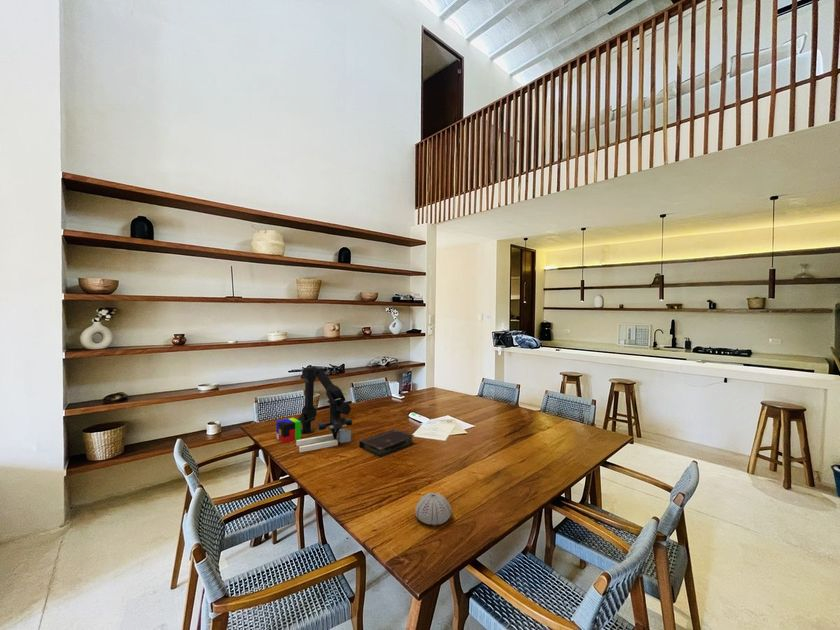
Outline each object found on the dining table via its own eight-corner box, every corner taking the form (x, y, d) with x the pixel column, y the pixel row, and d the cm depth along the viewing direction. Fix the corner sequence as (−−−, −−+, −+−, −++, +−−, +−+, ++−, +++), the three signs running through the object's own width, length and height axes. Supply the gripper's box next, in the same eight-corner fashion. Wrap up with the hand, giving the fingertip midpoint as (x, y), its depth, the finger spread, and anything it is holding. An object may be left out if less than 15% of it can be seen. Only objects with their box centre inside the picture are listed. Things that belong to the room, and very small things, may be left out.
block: (337, 439, 197) (337, 430, 197) (347, 437, 200) (347, 428, 200) (340, 443, 192) (340, 433, 192) (350, 441, 195) (350, 431, 194)
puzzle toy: (276, 438, 198) (276, 421, 198) (293, 434, 205) (293, 417, 205) (283, 443, 191) (283, 425, 191) (300, 438, 198) (300, 421, 198)
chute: (296, 444, 189) (296, 440, 189) (332, 438, 199) (332, 433, 199) (299, 452, 179) (299, 447, 179) (337, 445, 189) (337, 440, 189)
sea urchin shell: (429, 533, 115) (429, 510, 115) (407, 514, 126) (407, 492, 126) (459, 519, 123) (459, 497, 123) (435, 502, 134) (435, 482, 134)
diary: (358, 448, 186) (358, 439, 186) (393, 436, 204) (393, 428, 204) (380, 458, 173) (380, 448, 173) (415, 444, 191) (415, 435, 191)
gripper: (321, 417, 182) (321, 447, 182) (355, 413, 191) (355, 440, 191) (316, 412, 192) (316, 440, 192) (349, 407, 201) (349, 434, 201)
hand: (334, 438), depth 194 cm, fingers closed
